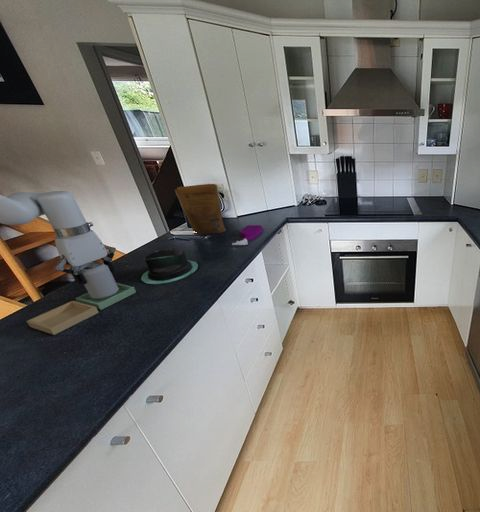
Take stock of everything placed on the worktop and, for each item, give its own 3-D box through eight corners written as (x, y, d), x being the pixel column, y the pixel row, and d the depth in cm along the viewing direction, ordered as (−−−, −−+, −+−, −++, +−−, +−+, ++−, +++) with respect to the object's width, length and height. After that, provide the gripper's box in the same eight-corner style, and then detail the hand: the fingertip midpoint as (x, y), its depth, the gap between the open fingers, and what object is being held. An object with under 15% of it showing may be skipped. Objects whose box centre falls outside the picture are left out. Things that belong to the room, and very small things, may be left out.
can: (86, 298, 96) (69, 268, 91) (109, 287, 103) (95, 259, 97) (102, 301, 95) (86, 272, 89) (125, 290, 101) (111, 261, 96)
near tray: (30, 327, 85) (26, 321, 84) (76, 306, 95) (73, 300, 94) (54, 335, 82) (50, 328, 81) (99, 312, 92) (95, 306, 91)
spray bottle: (264, 229, 164) (251, 246, 142) (245, 229, 163) (229, 247, 141) (263, 224, 163) (250, 241, 141) (244, 225, 162) (228, 242, 140)
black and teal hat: (138, 288, 104) (136, 269, 117) (194, 293, 117) (187, 275, 131) (149, 252, 102) (147, 237, 116) (205, 261, 116) (197, 247, 129)
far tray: (78, 303, 96) (75, 298, 95) (115, 287, 106) (112, 281, 105) (100, 310, 93) (97, 304, 92) (136, 292, 103) (133, 286, 102)
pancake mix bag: (227, 233, 157) (215, 184, 145) (189, 237, 151) (173, 186, 138) (229, 229, 163) (217, 182, 150) (191, 233, 156) (176, 184, 144)
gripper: (97, 220, 96) (117, 264, 104) (27, 238, 81) (57, 288, 89) (112, 223, 94) (131, 267, 102) (43, 242, 79) (72, 292, 87)
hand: (97, 277), depth 96 cm, fingers closed on can, 7 cm apart
